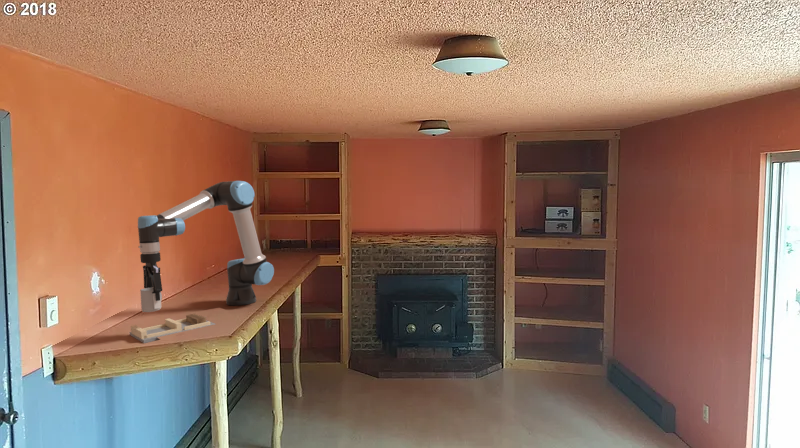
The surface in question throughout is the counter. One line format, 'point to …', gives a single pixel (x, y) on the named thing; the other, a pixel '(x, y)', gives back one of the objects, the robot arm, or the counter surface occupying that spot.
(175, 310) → the counter surface
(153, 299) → the robot arm
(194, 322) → the brown rounded bar
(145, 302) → the cup
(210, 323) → the jig
